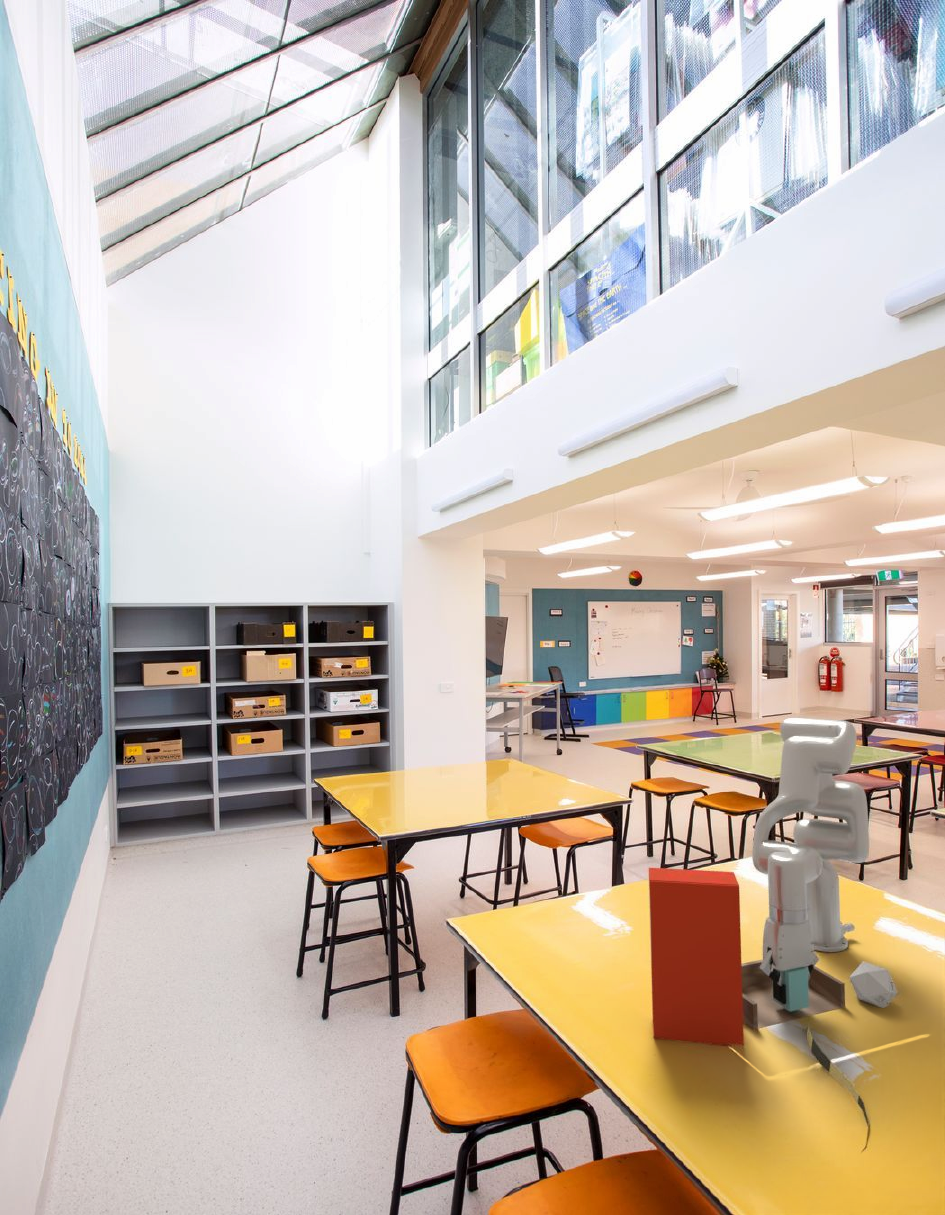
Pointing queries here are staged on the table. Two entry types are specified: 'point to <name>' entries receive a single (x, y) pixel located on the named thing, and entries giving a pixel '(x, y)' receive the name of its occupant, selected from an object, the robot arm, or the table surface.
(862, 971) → the die
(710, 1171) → the table surface
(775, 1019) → the open box
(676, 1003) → the file binder
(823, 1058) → the curved strip
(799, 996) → the teal block
